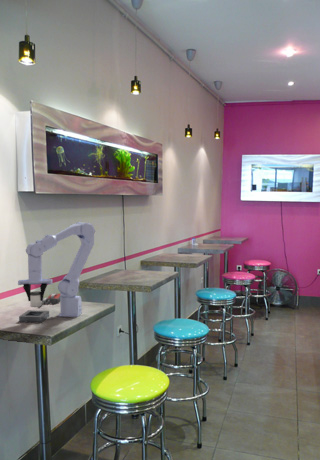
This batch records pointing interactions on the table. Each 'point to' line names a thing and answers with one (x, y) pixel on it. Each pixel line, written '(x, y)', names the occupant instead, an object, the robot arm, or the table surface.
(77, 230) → the robot arm
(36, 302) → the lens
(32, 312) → the grey square frame
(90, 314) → the table surface
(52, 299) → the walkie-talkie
